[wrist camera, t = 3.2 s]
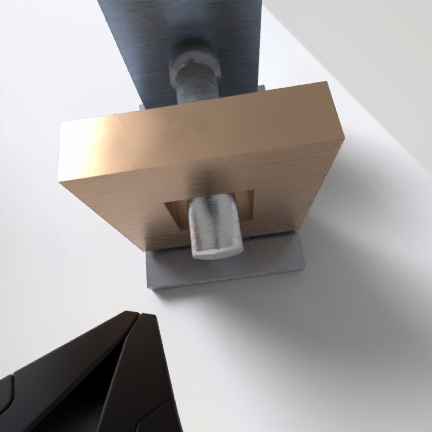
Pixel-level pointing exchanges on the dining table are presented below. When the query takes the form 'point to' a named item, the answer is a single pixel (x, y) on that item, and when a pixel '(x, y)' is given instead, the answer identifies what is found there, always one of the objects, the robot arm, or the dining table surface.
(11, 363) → the dining table surface
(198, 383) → the dining table surface
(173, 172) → the wooden block on rod
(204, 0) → the stand
